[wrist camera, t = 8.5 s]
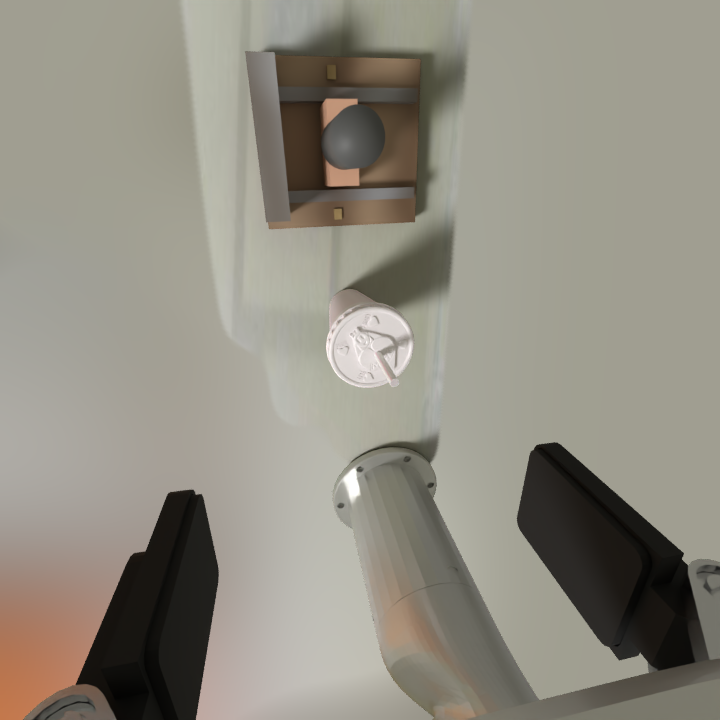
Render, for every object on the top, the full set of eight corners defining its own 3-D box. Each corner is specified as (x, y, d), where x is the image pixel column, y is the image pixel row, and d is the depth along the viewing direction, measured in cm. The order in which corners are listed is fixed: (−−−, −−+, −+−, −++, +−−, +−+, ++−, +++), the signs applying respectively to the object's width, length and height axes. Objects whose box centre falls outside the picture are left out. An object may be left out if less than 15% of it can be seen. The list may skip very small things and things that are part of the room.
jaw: (354, 107, 27) (385, 81, 20) (356, 184, 30) (385, 186, 22) (312, 107, 27) (328, 80, 19) (317, 185, 29) (333, 188, 22)
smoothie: (348, 352, 38) (385, 438, 25) (299, 310, 35) (314, 383, 23) (395, 306, 37) (457, 372, 24) (349, 259, 34) (393, 306, 21)
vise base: (413, 64, 29) (449, 36, 23) (409, 220, 33) (437, 229, 28) (249, 60, 27) (242, 28, 21) (269, 227, 31) (268, 238, 26)
